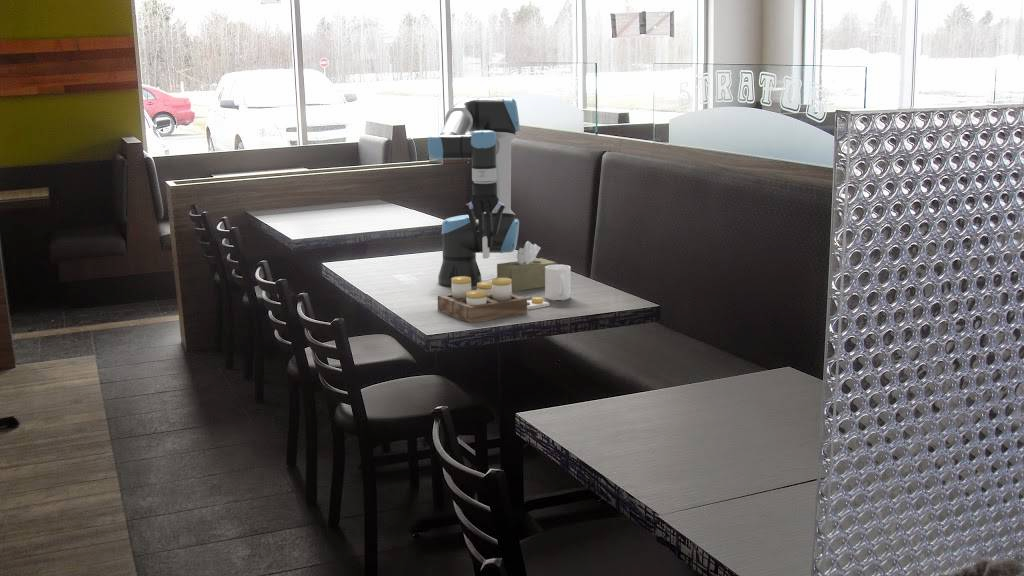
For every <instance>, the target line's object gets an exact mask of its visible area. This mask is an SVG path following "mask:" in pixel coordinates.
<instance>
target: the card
mask: <svg viewBox="0 0 1024 576" xmlns="http://www.w3.org/2000/svg"><path fill="white" fill-rule="evenodd" d="M522 297H523V298H526V299H527V311H528V310H534V309H539V308H540V309H541V308H545V307H546V306H547V307H550V302H547V301H544V298H543V297H540V296H539V297H536V296H535V297H532V296H529V295H526V296H522Z"/></svg>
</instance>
